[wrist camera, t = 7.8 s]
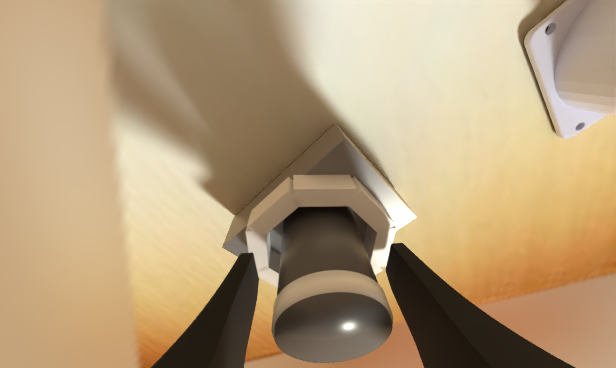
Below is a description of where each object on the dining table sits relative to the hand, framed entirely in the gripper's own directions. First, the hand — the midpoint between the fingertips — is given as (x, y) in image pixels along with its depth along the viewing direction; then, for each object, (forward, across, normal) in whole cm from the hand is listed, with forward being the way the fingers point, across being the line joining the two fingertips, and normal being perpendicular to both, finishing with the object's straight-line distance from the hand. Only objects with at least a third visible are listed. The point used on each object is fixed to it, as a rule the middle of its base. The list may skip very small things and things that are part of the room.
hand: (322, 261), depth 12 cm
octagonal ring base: (+5, 0, 0) cm, 5 cm away
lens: (+2, 0, 0) cm, 2 cm away
